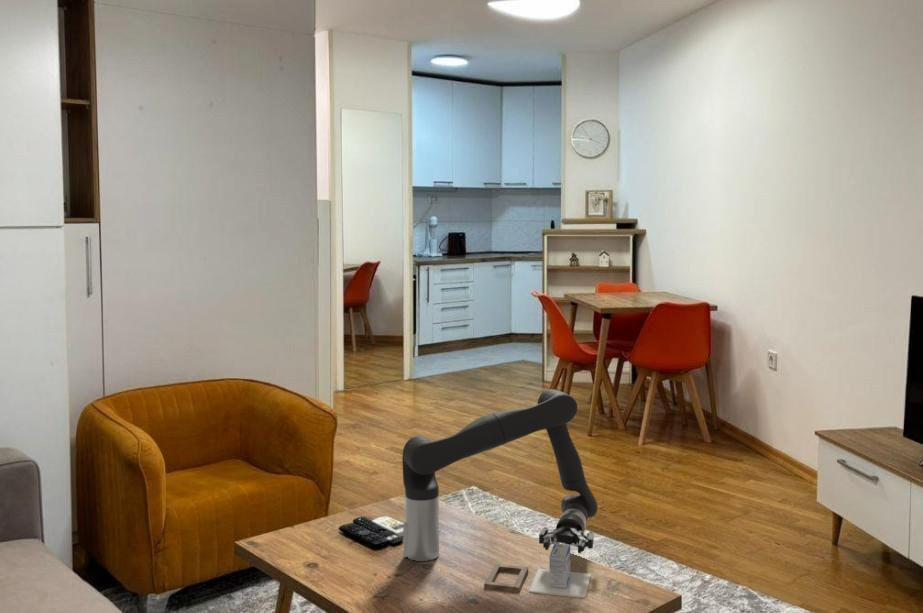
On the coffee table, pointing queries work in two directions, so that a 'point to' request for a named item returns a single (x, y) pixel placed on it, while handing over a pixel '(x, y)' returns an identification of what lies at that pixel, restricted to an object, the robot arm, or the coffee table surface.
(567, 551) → the medicine box
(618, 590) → the coffee table surface
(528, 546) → the coffee table surface
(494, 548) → the coffee table surface
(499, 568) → the box holder
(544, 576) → the grey mat
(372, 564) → the coffee table surface
